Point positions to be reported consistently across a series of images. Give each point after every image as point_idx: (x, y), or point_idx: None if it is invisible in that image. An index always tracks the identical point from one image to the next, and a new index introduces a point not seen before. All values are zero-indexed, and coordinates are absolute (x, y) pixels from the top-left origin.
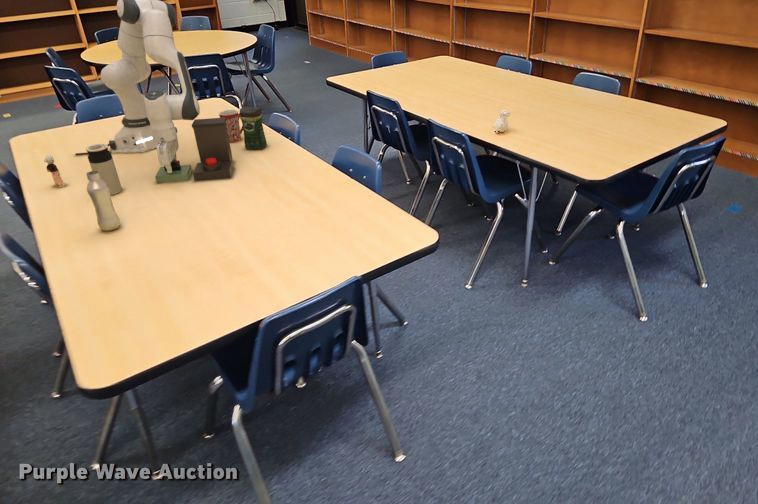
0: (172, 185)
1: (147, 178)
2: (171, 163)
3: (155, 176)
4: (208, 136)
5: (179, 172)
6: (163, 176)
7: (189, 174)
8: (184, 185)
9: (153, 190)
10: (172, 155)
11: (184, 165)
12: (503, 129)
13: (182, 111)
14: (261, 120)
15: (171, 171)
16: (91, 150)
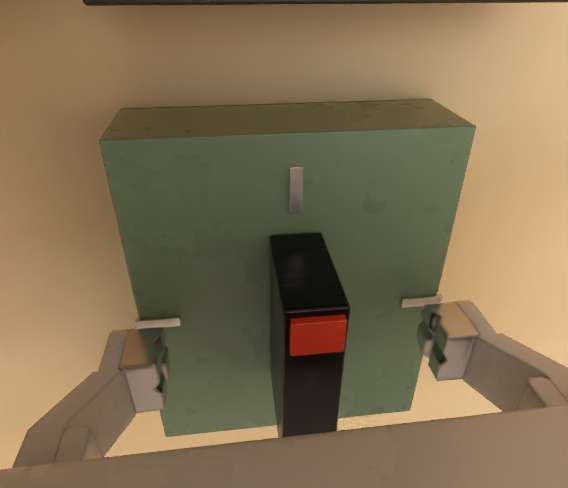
0: (491, 231)
1: (261, 437)
2: (339, 378)
3: (409, 406)
4: None
5: (391, 226)
6: (420, 350)
7: (300, 109)
8: (552, 112)
9: (525, 341)
10: (493, 473)
11: (136, 221)
12: None
13: None
14: None
15: (474, 311)
16: None
